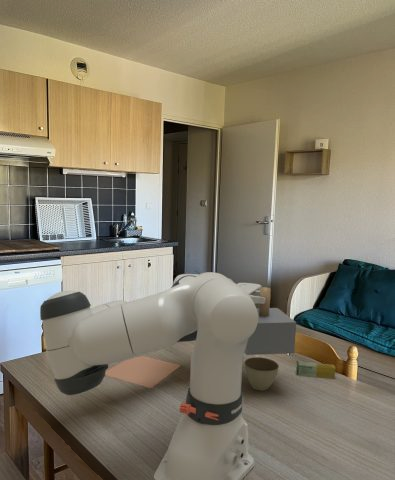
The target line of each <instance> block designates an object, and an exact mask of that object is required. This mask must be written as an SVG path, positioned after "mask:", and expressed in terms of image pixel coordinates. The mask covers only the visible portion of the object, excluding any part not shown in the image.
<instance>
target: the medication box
mask: <svg viewBox="0 0 395 480" xmlns="http://www.w3.org/2000/svg"><path fill="white" fill-rule="evenodd" d="M336 369H337V368H336V366H335V365H334V364H330V363H329V364H328V363H321V362H320V363H319V362H311V361H308V362H307V361H299V360H297V361H296V365H295V376H300V377H301V376H303V377H309V378H310V377H312V378H322V379H329V380H330V379H331V380H332V379H333V380H335V379H336V377H335V376H336Z"/></svg>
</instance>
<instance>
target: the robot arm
mask: <svg viewBox="0 0 395 480" xmlns="http://www.w3.org/2000/svg"><path fill="white" fill-rule="evenodd" d="M261 287H262V285H261V284H258V283H250V282H238V283H235V282H234V281H233V279H231V278H228V277H226V276H225V275H224V274H222V273H219V272H214V271H213V272H211V271H209V272H207V271H205V272H202V273H199V274H197V273H196V274H195V273H194V274H193V273H182V274H178V275H177V276H176V277H175V278H174V280H173V282H172V285H171V287H170V288H168V289H166V290H162V291H160V292H158V293H155V294H152V295H148V296H145V297H141V298H137V299H134V300H131V301H125V300H120V299H119V300H112V301H108V302H106V303H102V304H98V305H96V306H94V307H91V306H92V305H91V303H90V301H89V298H88V297H87V295H85V294H84V293H83V292H81V291H76V290H75V291H74V290H63V291H59V292H56V293H55V294H53V295H51V296H50V297H48V298H47V299H46V300H44V301H43V303H42V304H41V305H40V308H39V309H40V310H39V312H40V314H39V315H40V321H42V329H43V336H44V337H43V338H44V342H45V347H46V349H45V350H46V351H45V352H46V355H47V358H48V362H49V365H50V368H51V370H52V373H53V375H54V377H55V378H54V382H55V384H56V386H57V389H58V390H59V392H60V393H62V394H65V395H67V396H74V395H75V396H76V395H78V396H79V395H83V394H86V393H88V392H91V391H93V389H95V388H96V387H98V386H99V385H101V383H102V382H103V380H104V378H105V377H106V375H105V372H106V371H107V370H109V364H110V365H111V364H115V363H116V364H117V363H121V362H123V361H125V360H129V359H132V358H136V357H139V356H146V355H148V354H152V353H156V352H159V351H162V350H165V349H169V348H171V347H173V346H175V345H176V344H178V343H182V342H194V343H195V344H194V348H193V351H192V352H191V354H190V370H189V371H190V373H189V374H190V375H189V386H188V387H189V388H188V389H187V393H186V396H185V397H186V398H185V402H184V401H183V402H181V403H180V406H179V413H182V414H181V417H180V418H179V421H178V424H177V426H176V429H175V430H174V433H173V435H172V438H171V440H170V443H169V445H168V448H167V450H166V452H165V454H164V456H163V457H162V459H161V461H160V463H159V465H158V466H157V468H156V471H155V472H154V474H153V480H243V478H244V477H246V475H247V474H249V473H250V471H251V470H252V469H253V468H254V467H255V460H254V458H253V457H252V456H251V454H249V425H248V423H247V421H246V419H244V416H243V413H242V412H243V405H244V395H243V394H244V393H243V391H242V382H243V381H242V378H243V364H244V356H245V349H246V345H247V342H248V339H249V337H250V336H251V335H252V334H253V333H254V331H255V329H256V327H257V324H258V312H257V309H256V308H257V307H256V304H259V303H261V304H264V303H265V302H266V297H263V296H260V288H261Z"/></svg>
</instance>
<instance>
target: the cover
mask: <svg viewBox="0 0 395 480" xmlns="http://www.w3.org/2000/svg"><path fill="white" fill-rule="evenodd" d="M260 296H263V297H266V302H265V303H264V304H261V303H258V304H259V305H258V307H256V309H257V312H258V324H257V327H256V329H255V331H254V333H253V334H252V335H251V336H250V337H249V339H248V342H247V345H246V349H245V353H244V355H246V356H255V355H256V356H257V355H259V356H261V355H281V354H282V355H283V354H285V355H286V354H295V349H296V347H295V346H296V331H297V322H296V321H295V320H294V319H293V318H291V317H290V316H289V315H287V314H286V313H285V312H283V310H281V309H279V308H278V307H270V306H271V305H270V304H271V287H267V286H266V287H265V286H263V287H261V288H260Z"/></svg>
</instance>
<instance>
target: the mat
mask: <svg viewBox="0 0 395 480" xmlns="http://www.w3.org/2000/svg"><path fill="white" fill-rule="evenodd" d="M181 366H182V365H181V364H178V363H174V362H169V361H165V360H161V359H158V358H152V357H149V356H146V355H142V356H139V357H136V358H132V359H129V360H125V361H120V362H119V363H118V364H117V365H115V366H112V367H111V368H110V369H109V368H108V369H107V370H106V372H105V377H110V378H114V379H117V380H121V381H124V382H127V383H131V384H134V385H137V386H141V387H145V388H148V389H153V388H154V387H155V386H156V385H158V384H159V383H160V382H162V381H163V380H164V379H165V378H168V376H169V375H171V374H172V373H173V372H174V371H176V370H177V369H178V368H180V367H181Z"/></svg>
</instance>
